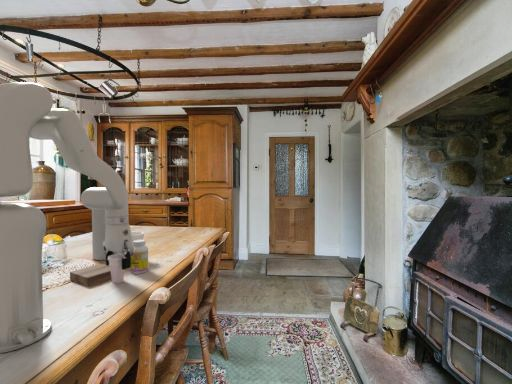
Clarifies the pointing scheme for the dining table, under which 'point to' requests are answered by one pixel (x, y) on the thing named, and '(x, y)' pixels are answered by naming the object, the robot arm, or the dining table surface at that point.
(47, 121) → the robot arm
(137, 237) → the foam cup
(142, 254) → the supplement bottle
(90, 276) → the plinth
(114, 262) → the smoothie
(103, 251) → the cylinder vase
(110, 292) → the dining table surface
